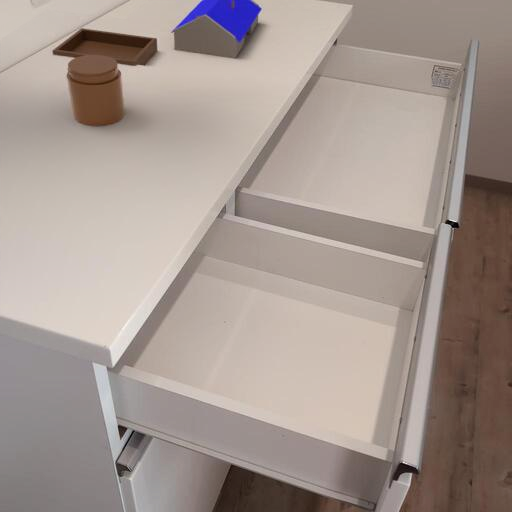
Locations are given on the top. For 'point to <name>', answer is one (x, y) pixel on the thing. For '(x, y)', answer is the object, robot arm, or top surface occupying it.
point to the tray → (109, 46)
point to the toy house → (217, 27)
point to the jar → (95, 90)
